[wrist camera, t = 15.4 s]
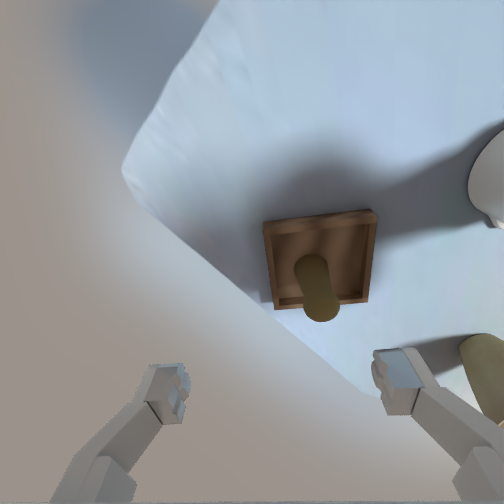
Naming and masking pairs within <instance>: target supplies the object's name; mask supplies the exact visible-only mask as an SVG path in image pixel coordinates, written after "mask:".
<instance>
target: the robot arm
mask: <svg viewBox="0 0 504 504" xmlns="http://www.w3.org/2000/svg"><path fill="white" fill-rule="evenodd" d="M468 194H469V198H470V200H471V202H472V203H473V205H474V206H475V207H476V208H477V209H479V210H480V211H482V212H484V213H486V214H487V215H488V216H489V217H490V219H491V221H492V223H493V225H494V226H495V227H497V228H500V229H504V129H503V130H502V131H501V132H500V133H499V134H498V135H496V136H495V137H494V138H493V139H492V140H491V141H490V142H489V143H488V145H487V146H486V147H485V148H484V149H483V151H482V152H481V153H480V155H479V156H478V158H477V160H476V161H475V163H474V165H473V167H472V170H471V173H470V176H469V180H468ZM373 357H374V361H373V362H372V364H371V370H372V376H373V379H374V382H375V385H376V387H377V388H379V389H380V390H381V391H382V393H381V400H382V402H383V405H384V407H385V410H386V412H387V415H411V417H412V418H413V419H414V420H415V421H416V422H417V423H418V424H419V425H420V426H421V427H422V428H423V429H424V430H425V431H426V432H427V433H428V434H429V435H430V436H431V437H432V438H433V439H434V440H435V441H436V442H437V443H438V444H439V445H440V446H441V447H442V448H443V449H444V450H445V451H446V452H447V453H448V454H449V455H450V456H451V457H452V458H453V459H454V460H455V461H456V462H457V463H458V464H459V465H460V466H461V467H460V469H459V470H458V472H457V473H456V475H455V476H454V478H453V481H452V482H453V484H454V486H455V488H456V490H457V492H458V494H459V496H460V498H461V500H462V501H305V502H304V501H295V502H293V501H292V502H291V501H289V502H287V501H285V502H132V500H133V497H134V493H135V490H136V487H137V484H136V481H135V480H134V479H133V478H132V477H131V476H129V474H128V473H129V471H130V470H131V469H132V467H133V466H134V464H135V463H136V462H137V461H138V459H139V458H140V456H141V455H142V454H143V452H144V451H145V450H146V448H147V447H148V445H149V444H150V443H151V441H152V440H153V439H154V437H155V436H156V435H157V433H158V432H159V431H160V429H161V428H162V425H167V424H181V423H182V420H183V416H184V412H185V408H186V406H185V404H184V401H185V400H186V398H187V397H188V396H189V392H190V377H189V375H188V373H186V372H184V370H185V366H184V364H183V363H176V364H154V365H149V366H148V367H147V368H146V370H145V372H144V374H143V376H142V379H141V381H140V383H139V386H138V388H137V390H136V392H135V395H134V397H133V400H132V402H131V403H127V404H126V405H125V406H124V407H123V408H122V409H121V410H120V411H119V412H118V413H117V414H116V415H115V416H114V417H113V418H112V419H111V420H110V421H109V422H108V423H107V424H106V425H105V426H104V427H103V428H102V429H101V430H100V431H99V432H98V433H97V434H96V435H95V436H94V437H93V438H91V440H90V441H88V442H87V444H85V446H83V447H82V448H81V449H80V450H79V451H78V452H77V453H76V454H75V455H74V457H73V458H72V461H71V462H70V464H69V466H68V468H67V470H66V472H65V474H64V476H63V477H62V479H61V481H60V483H59V485H58V487H57V489H56V491H55V493H54V495H53V496H52V498H51V500H50V502H49V503H0V504H504V429H503V428H501V427H500V426H499V425H497V424H496V423H494V422H493V421H492V420H490V419H489V418H487V417H486V416H485V415H483V414H482V413H480V412H479V411H478V410H476V409H475V408H473V407H472V406H471V405H469V404H468V403H466V402H465V401H464V400H462V399H461V398H459V397H458V396H457V395H455V394H454V393H452V392H451V391H450V390H448V389H447V388H445V387H440V386H439V384H438V382H437V381H436V379H435V378H434V376H433V374H432V373H431V371H430V370H429V368H428V366H427V365H426V363H425V362H424V360H423V358H422V357H421V355H420V354H419V352H418V351H417V349H415V348H414V347H410V348H393V349H381V350H374V351H373Z"/></svg>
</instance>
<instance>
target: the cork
mask: <svg viewBox="0 0 504 504" xmlns="http://www.w3.org/2000/svg"><path fill="white" fill-rule="evenodd" d="M294 273H295V276H296V278H297V281H298V283H299V285H300V288H301V290H302V293H303V295H304V300H303V308H304V311H305V313H306V315H307V316H308V317H309V318H310V319H312V320H314V321H317V322H326V321H329V320H331V319H333V318H334V317H335V316H336V315H337V314H338V312H339V309H340V302H339V300H338V297H337V295H336V294H335V293H334V292H333V291H332V288H331V281H330V275H329V268H328V264H327V261H326V260H325V259H324V258H323V257H322V256H320V255H316V254H308V255H305V256H302V257H301V258H300V259H298V260H297V262H296V263H295V265H294Z"/></svg>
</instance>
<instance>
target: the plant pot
mask: <svg viewBox="0 0 504 504" xmlns="http://www.w3.org/2000/svg"><path fill="white" fill-rule="evenodd" d="M459 352H460V356H461V359H462V363H463V366H464V369H465V372H466V375H467V378H468V381H469V383H470V386H471V388H472V391H473V393H474V395H475V398H476V400H477V402H478V404H479V406H480V409H481V410H482V412H483V414H484V415H485V416H486V417H487V418H489V419H490V420H492V421H493V422H494V423H496V424H497V425H499V426H500V427H501V428H503V429H504V341H503V340H501V339H499V338H497V337H495V336H493V335H491V334H479V335H475V336H472V337H469V338H467V339H466V340H464V341H463V342H462V343H461V344H460V346H459Z"/></svg>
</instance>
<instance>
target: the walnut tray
mask: <svg viewBox="0 0 504 504" xmlns="http://www.w3.org/2000/svg"><path fill="white" fill-rule="evenodd" d="M377 217H378V216H377V215H376V214H375V213H374V212H373V211H372V210H371V209H365V210H357V211H349V212H341V213H332V214H324V215H316V216H308V217H300V218H292V219H284V220H276V221H268V222H263V234H264V241H265V248H266V255H267V262H268V269H269V276H270V283H271V290H272V296H273V303H274V310H283V309H295V308H303V300H304V295H303V293H302V290H301V288H300V285H299V283H298V281H297V278H296V276H295V273H294V265H295V263H296V262H297V260H298V259H300V258H301V257H302V256H305V255H308V254H316V255H320V256H322V257H323V258H324V259H325V260H326V261H327V264H328V268H329V275H330V281H331V288H332V291H333V292H334V293H335V294H336V295H337V297H338V300H339V302H340V305H342V304H353V303H365V302H368V295H369V286H370V278H371V269H372V260H373V252H374V243H375V234H376V225H377Z"/></svg>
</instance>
